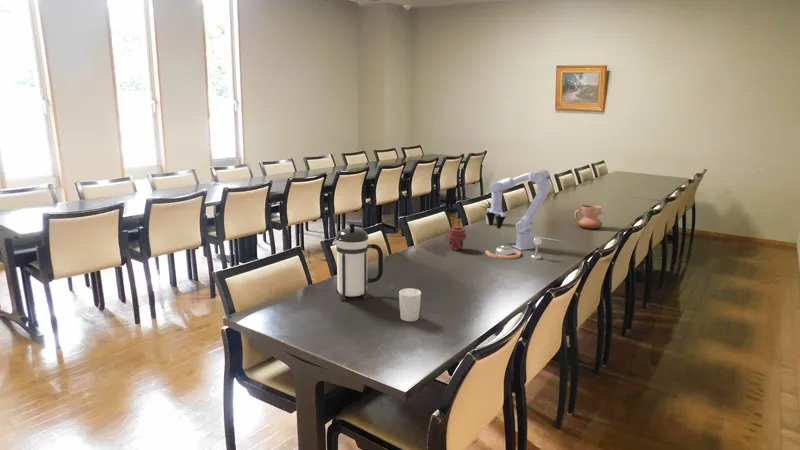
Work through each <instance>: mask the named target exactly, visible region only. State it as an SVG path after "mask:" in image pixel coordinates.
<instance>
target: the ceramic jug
mask: <svg viewBox="0 0 800 450" xmlns="http://www.w3.org/2000/svg"><path fill="white" fill-rule="evenodd" d="M601 210H602V206H600V205H595V204H582V205H580V209H577V210H575V211H574V217H575V220H576V223H577V225H578V226H579V227H581V228H583V229H588V230H593V229H594V230H595V229H599V228H600V227H602V226H603V222H602V221H601V220H600V219H598V216H600V215H601V214H603V215H605V212H604V211H601ZM578 213H581V215H582V217H581V218H580V219H579V218H578Z"/></svg>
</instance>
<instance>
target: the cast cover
mask: <svg viewBox="0 0 800 450" xmlns="http://www.w3.org/2000/svg"><path fill="white" fill-rule="evenodd" d="M514 249H515V248H514V247H512V246H511V247H510V246H509V245H507V244H502V245H500V246H497V247H496V249H495V255H501V256H512V255H514V253H515V252H514Z"/></svg>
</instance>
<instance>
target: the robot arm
mask: <svg viewBox="0 0 800 450" xmlns="http://www.w3.org/2000/svg"><path fill="white" fill-rule="evenodd" d="M551 179H552V178H551V174H550V172H549V171H548V170H547V169H543V168H542V169H540V170H534V171H530V172H527V173H524V174H521V175H518V176H516V177H513V176H506V178H502V179H498V181H493V182H492V183H491V184H490V190H491V201H490V203H491V208H487V207H486V208H487V209H486V210H487V212H485V214H486V215H487V217H488V221H489V226H493V222H494V217H496V219H495V222H496V228H497V229H501V228H502V225H503V223H504V220H505V219H506V217H507V216H506V212H503V211H502V203H503V202H502V201H503V200H502V199H503V191H505V190H508V189H510V188H514V187H515V186H516V184H518V183H521V182H525V181H530V182H531V181H533V183H535V186H537V188H538V191H537V193H536V195H535V196H534V198H533V200H532V202H531V203H530V205H529V207H528V208H527V210H526V213H524V215H523V216H522V217H521V219H520V220H519V221H518V222H517V223H516V224H515V229H516V241H515V244H514V245H512V248H514V249H516V250H519V251H523V250H532V249H536V246H535V245H534V244H533V239H534V238H536V236H535V233H534V232H533V231H531V229H532V227H533V223H534V221H535V217H536V215H537V214H538V211H540V208H541V206H542V205H543V203H544V201H545V200H546V199H547V196H548V194H549V193H550V190H551ZM495 214H496V216H495ZM486 215H485V216H486Z"/></svg>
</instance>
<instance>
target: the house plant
mask: <svg viewBox="0 0 800 450" xmlns="http://www.w3.org/2000/svg"><path fill="white" fill-rule="evenodd" d="M486 202H487V204H486V203H485V201H484V202H483V201H482V204H483V205H485V206H480V205H479V206H480V208H482V210H481V212H482V211H485V214H484V215H485V222H486V225H489V221H488V217H487V215H486V213H488V212H487V208H491V201H488V200H486ZM495 216H497V214H495ZM495 222H496V217H494V222H493V225H495ZM493 225H492V226H493ZM489 226H490V225H489Z"/></svg>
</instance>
